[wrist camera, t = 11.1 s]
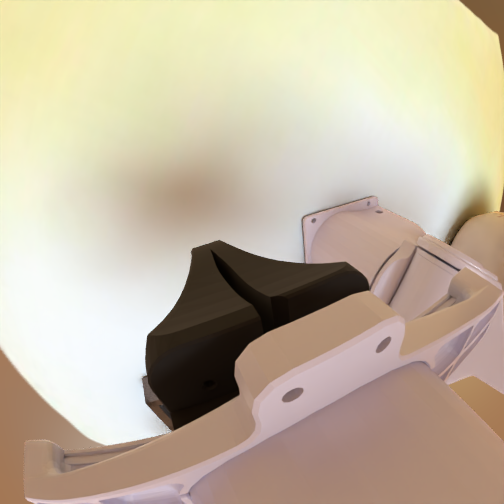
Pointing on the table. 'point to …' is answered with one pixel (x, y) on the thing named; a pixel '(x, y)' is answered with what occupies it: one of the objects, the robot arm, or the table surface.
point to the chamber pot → (484, 242)
